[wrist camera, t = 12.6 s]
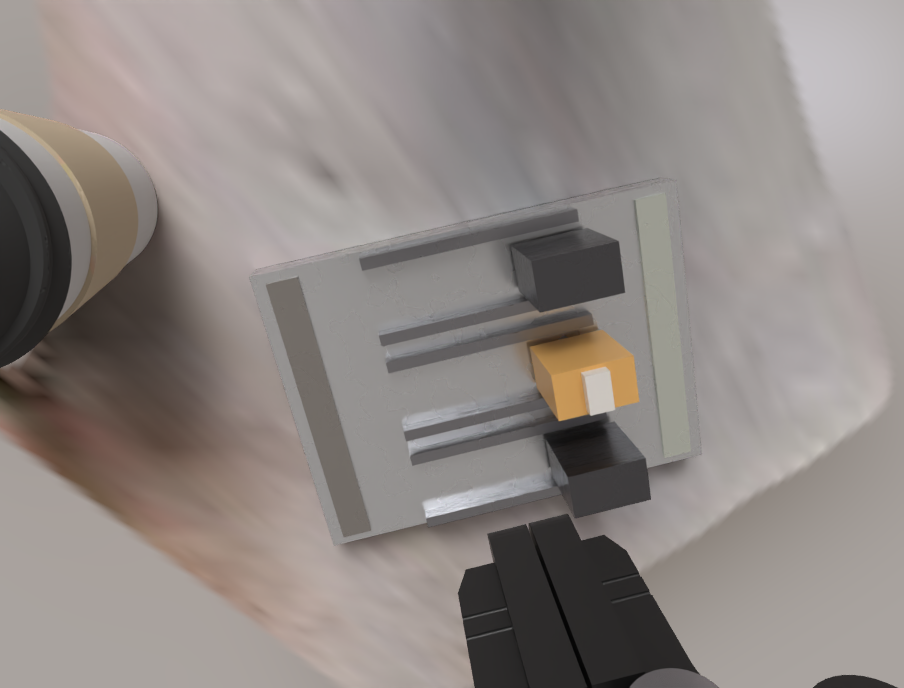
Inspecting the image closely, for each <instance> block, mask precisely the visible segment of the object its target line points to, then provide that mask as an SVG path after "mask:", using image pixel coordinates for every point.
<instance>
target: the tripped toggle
mask: <svg viewBox="0 0 904 688" xmlns="http://www.w3.org/2000/svg"><path fill="white" fill-rule="evenodd" d="M530 352H531V358H532V363H533V369H534V374H535V380H536V386H537V389H538V390H539V392H540V393H541V395H542V396H543V398H544V399H545V401H546V402H547V404H548V405H549V407H550V408H551V410H552V412H553V413H554V415H555V416H556V418H557V419H558V421H562V420H567V419H571V418H575V417H579V416H583V415H587V414H590V416H592V415H596V414H600V413H604V412H609V411H613V410H615V408H616V407H620V406H624V405H628V404H632V403H637V402H639V394H638V386H637V378H636V370H635V362H634V356H633V355H632V354H631V353H630V352H629V351H627V350H626V349H625V348H624V347H623V346H621V345H620V344H619V343H618V342H617V341H615V340H614V339H613V338H612V337H611V336H609V335H608V334H607V333H606V332H605V331H603V330H598V331H594V332H590V333H585V334H581V335H577V336H573V337H568V338H564V339H560V340H556V341H552V342H547V343H543V344H539V345H535V346H530Z"/></svg>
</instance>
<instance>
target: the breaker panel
mask: <svg viewBox="0 0 904 688" xmlns="http://www.w3.org/2000/svg"><path fill="white" fill-rule="evenodd" d="M249 278H250V282H251V285H252V288H253V291H254V294H255V297H256V301H257V304H258V307H259V310H260V313H261V316H262V320H263V323H264V326H265V329H266V332H267V335H268V338H269V342H270V345H271V348H272V351H273V354H274V357H275V361H276V364H277V367H278V370H279V373H280V376H281V380H282V383H283V386H284V389H285V392H286V395H287V399H288V402H289V405H290V408H291V411H292V414H293V418H294V421H295V424H296V427H297V430H298V433H299V437H300V440H301V443H302V446H303V449H304V452H305V456H306V459H307V462H308V465H309V468H310V471H311V474H312V478H313V481H314V484H315V487H316V490H317V493H318V497H319V500H320V503H321V506H322V509H323V512H324V516H325V519H326V522H327V525H328V528H329V531H330V535H331V538H332V541H333V544H334V546H335V545H339V544H343V543H347V542H351V541H355V540H359V539H363V538H367V537H371V536H375V535H379V534H383V533H387V532H391V531H395V530H399V529H403V528H407V527H411V526H416V525H420V524H424V523H427V525H428V527H432V526H436V525H440V524H444V523H448V522H452V521H456V520H460V519H464V518H468V517H472V516H476V515H480V514H484V513H489V512H493V511H497V510H501V509H505V508H509V507H513V506H517V505H521V504H525V503H529V502H533V501H537V500H541V499H545V498H549V497H553V496H557V495H561V494H562V495H563V497H564V499H565V501H566V503H567V505H568V507H569V508H570V510H571V512H572V514H573V516H574V518H579V517H583V516H587V515H591V514H595V513H599V512H603V511H607V510H611V509H615V508H619V507H623V506H627V505H631V504H635V503H639V502H643V501H647V500H651V496H650V488H649V480H648V472H647V468H650V467H654V466H658V465H662V464H666V463H670V462H674V461H678V460H682V459H686V458H690V457H694V456H698V455H702V452H701V441H700V430H699V419H698V409H697V398H696V387H695V376H694V365H693V354H692V343H691V332H690V322H689V311H688V300H687V289H686V278H685V267H684V256H683V246H682V235H681V224H680V213H679V202H678V191H677V180H672V179H665V178H657V179H652V180H648V181H644V182H639V183H635V184H630V185H626V186H622V187H617V188H613V189H608V190H604V191H600V192H595V193H591V194H586V195H582V196H578V197H573V198H569V199H564V200H560V201H556V202H551V203H547V204H542V205H538V206H533V207H529V208H525V209H520V210H516V211H511V212H507V213H503V214H498V215H494V216H489V217H485V218H481V219H476V220H472V221H467V222H463V223H459V224H454V225H450V226H445V227H441V228H437V229H432V230H428V231H423V232H419V233H414V234H410V235H406V236H401V237H397V238H392V239H388V240H384V241H379V242H375V243H370V244H366V245H362V246H357V247H353V248H348V249H344V250H340V251H335V252H331V253H326V254H322V255H317V256H313V257H309V258H304V259H300V260H295V261H291V262H287V263H282V264H278V265H273V266H269V267H265V268H260V269H256V270H255V271H254V272H253V273H252V275H251V276H250V277H249ZM598 330H603V331H605V332H606V333H607V334H608V335H609V336H611V337H612V338H613V339H614V340H615V341H617V342H618V343H619V344H620V345H621V346H623V347H624V348H625V349H626V350H627V351H629V352H630V353H631V354H632V355H633V356H634V362H635V370H636V378H637V386H638V394H639V402H637V403H632V404H628V405H624V406H620V407H616V408H615V410H613V411H609V412H604V413H600V414H596V415H592V416H590V414H587V415H583V416H579V417H575V418H571V419H567V420H562V421H558V419H557V418H556V416H555V415H554V413H553V412H552V410H551V408H550V407H549V405H548V404H547V402H546V401H545V399H544V398H543V396H542V395H541V393H540V392H539V390H538V389H537V386H536V380H535V374H534V369H533V363H532V358H531V352H530V346H535V345H539V344H543V343H547V342H552V341H556V340H560V339H564V338H568V337H573V336H577V335H581V334H585V333H590V332H594V331H598Z"/></svg>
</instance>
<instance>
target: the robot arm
mask: <svg viewBox="0 0 904 688" xmlns="http://www.w3.org/2000/svg"><path fill="white" fill-rule="evenodd" d="M529 532H530V533H529ZM487 535H488V540H489V544H490V549H491V553H492V557H493V562H494V563H491V564H487V565H483V566H479V567H475V568H471V569H467V570H466V571H465V574H464V577H463V580H462V583H461V586H460V589H459V592H458V596H459V601H460V607H461V613H462V618H463V624H464V630H465V635H466V640H467V646H468V652H469V658H470V663H471V669H472V675H473V680H474V686H475V688H719V687H718V686H717V685H715V684H714V683H713V682H712V681H710V680H708V679H707V678H705V677H703V676H701V675H700V674H699V673H698V672H697V670H696V669H695V667H694V666H693V665H692V663H691V661H690V660H689V658H688V656H687V654H686V653H685V651H684V649H683V648H682V646H681V644H680V642H679V641H678V639H677V637H676V635H675V634H674V632H673V630H672V629H671V627H670V625H669V624H668V622H667V620H666V618H665V617H664V615H663V613H662V611H661V610H660V608H659V606H658V605H657V603H656V601H655V599H654V598H653V596H652V595H651V594H650V592H649V589H648V587H647V586H646V584H645V582H644V580H643V579H642V577H640V575H639V572H638V570H637V568H636V567H635V565H634V563H633V562H632V560H631V558H630V556H629V555H628V553H627V551H626V550H625V549H623V548H622V547H620V546H619V545H618V544H616V543H615V542H613V541H612V540H610V539H609V538H608V537H606V536H605V535H602V536H598V537H594V538H590V539H586V540H582V541H581V539H580V537H579V535H578V533H577V531H576V529H575V527H574V525H573V523H572V521H571V519H570V517H569V515H568V514H565V515H561V516H557V517H553V518H549V519H544V520H540V521H536V522H532V523H529V530H528V528H527V526H526V524H525V525H521V526H517V527H513V528H509V529H505V530H501V531H497V532H493V533H489V534H487ZM813 688H897V687H895V686H892V685H890V684H888V683H885V682H882V681H879V680H877V679H873V678H869V677H865V676H856V675H841V676H835V677H831V678H828V679H825V680H823V681H821V682H819V683H818V684H817V685H816V686H814V687H813Z"/></svg>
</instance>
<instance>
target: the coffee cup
mask: <svg viewBox="0 0 904 688" xmlns="http://www.w3.org/2000/svg"><path fill="white" fill-rule="evenodd" d="M157 214H158V205H157V197H156V193H155V189H154V186H153V183H152V181H151V179H150V177H149V175H148V173H147V171H146V170H145V168H144V167H143V165H142V164H141V163H140V161H139V160H138V159H137V158H136V157H135V156H134V155H133V154H132V153H131V152H130V151H129V150H128V149H126V148H125V147H124V146H122V145H121V144H119V143H118V142H116V141H114V140H112V139H110V138H108V137H106V136H103V135H100V134H97V133H93V132H89V131H84V130H79V129H76V128H74V127H71V126H69V125H66V124H63V123H60V122H57V121H53V120H49V119H44V118H39V117H34V116H30V115H26V114H21V113H17V112H12V111H8V110H3V109H0V368H1V367H3V366H6V365H8V364H10V363H12V362H14V361H15V360H17V359H19V358H20V357H22V356H23V355H25V354H26V353H28V352H29V351H30V350H31V349H33V348H34V347H35V346H36V345H37V344H38V343H39V342H40V341H41V340H42V339H43V338H44V337H45V336H46V335H47V333H48V332H50V331H51V330H53V329H54V328H56V327H57V326H59V325H60V324H61V323H62V322H64V321H65V320H66V319H67V318H68V317H69V316H71V315H72V314H73V313H74V312H75V311H76V310H77V309H79V308H80V307H81V306H82V305H83V304H84V303H86V302H87V301H88V300H89V299H90V298H91V297H93V296H94V295H95V294H96V293H97V292H98V291H100V290H101V289H102V288H103V287H104V286H105V285H107V284H108V283H109V282H110V281H111V280H112V279H114V278H115V277H116V276H117V275H118V274H119V272H120V271H121V270H122V269H123V267H124V266H125V265H127V264H128V263H129V262H130V261H132V260H133V259H134V258H135V257H136V256H138V255H139V254H140V253H141V252H142V251H143V249H144V248H145V247H146V246H147V244H148V243H149V241H150V239H151V237H152V235H153V233H154V230H155V226H156V222H157Z"/></svg>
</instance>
